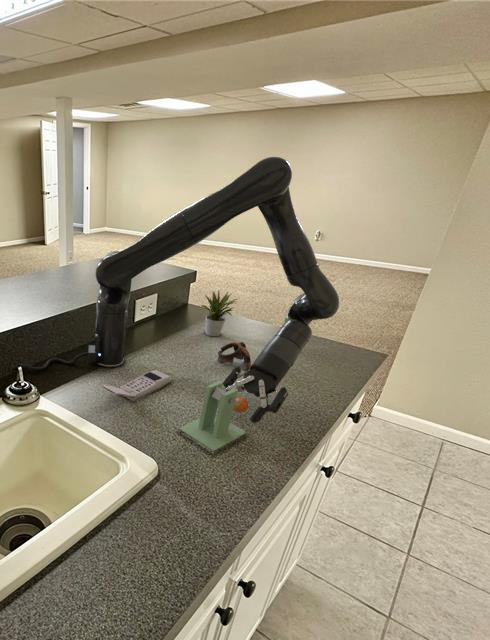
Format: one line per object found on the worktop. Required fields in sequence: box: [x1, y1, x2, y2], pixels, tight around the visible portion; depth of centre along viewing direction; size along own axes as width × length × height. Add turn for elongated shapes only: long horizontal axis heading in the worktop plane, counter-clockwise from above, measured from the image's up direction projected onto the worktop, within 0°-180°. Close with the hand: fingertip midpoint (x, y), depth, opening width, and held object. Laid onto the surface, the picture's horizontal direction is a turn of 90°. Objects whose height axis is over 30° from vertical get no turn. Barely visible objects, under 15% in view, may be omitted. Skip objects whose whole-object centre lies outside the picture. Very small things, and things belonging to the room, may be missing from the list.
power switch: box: [178, 380, 248, 452], centre depth 91 cm, size 12×10×13 cm
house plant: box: [200, 289, 238, 337], centre depth 144 cm, size 14×14×16 cm
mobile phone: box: [101, 369, 174, 402], centre depth 109 cm, size 6×6×25 cm
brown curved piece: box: [217, 341, 252, 371], centre depth 127 cm, size 12×10×8 cm
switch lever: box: [212, 387, 249, 413], centre depth 93 cm, size 14×4×4 cm
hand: (236, 413), depth 97 cm, fingers open, 8 cm apart
